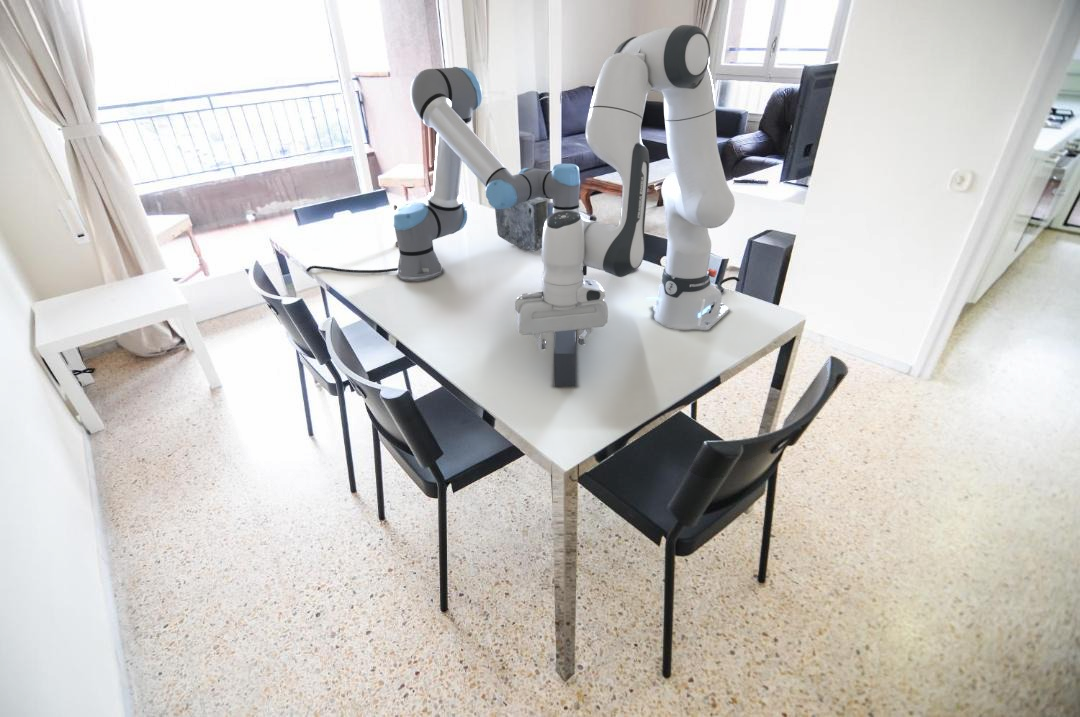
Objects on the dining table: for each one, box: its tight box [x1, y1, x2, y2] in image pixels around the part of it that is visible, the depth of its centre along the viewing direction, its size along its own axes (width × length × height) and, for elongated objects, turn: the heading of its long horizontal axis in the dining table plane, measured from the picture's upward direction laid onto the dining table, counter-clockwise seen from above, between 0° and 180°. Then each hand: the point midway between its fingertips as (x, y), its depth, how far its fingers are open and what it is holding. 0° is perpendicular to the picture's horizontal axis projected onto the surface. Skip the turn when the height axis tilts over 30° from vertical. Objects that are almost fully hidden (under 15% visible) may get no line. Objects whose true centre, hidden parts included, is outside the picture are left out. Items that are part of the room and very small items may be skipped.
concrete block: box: [494, 197, 549, 252], centre depth 191 cm, size 27×9×20 cm, turn 36°
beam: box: [553, 330, 577, 387], centre depth 134 cm, size 53×5×9 cm, turn 177°
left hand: (566, 296), depth 155 cm, fingers closed on beam, 5 cm apart
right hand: (562, 346), depth 114 cm, fingers open, 8 cm apart
